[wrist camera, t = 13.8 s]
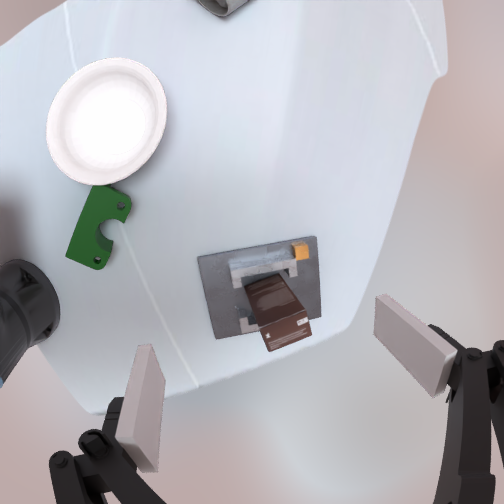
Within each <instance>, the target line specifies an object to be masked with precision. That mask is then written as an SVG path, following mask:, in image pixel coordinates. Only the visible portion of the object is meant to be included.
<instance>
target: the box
mask: <svg viewBox="0 0 504 504" xmlns="http://www.w3.org/2000/svg"><path fill="white" fill-rule="evenodd" d="M244 289H245V292H246V294H247V297H248V300H249V303H250V306H251V308H252V311H253V313H254V316H255V319H256V322H257V324H258V327H259V330H260V332H261V335H262V338H263V340H264V342H265V344H266V347H267V350H268V351H269V352H271V351H274V350H276V349H279V348H282V347H284V346H287V345H289V344H292V343H294V342H296V341H299V340H301V339H304V338H306V337H309V336H311V335H312V332H311V328H310V324H309V320H308V315H307V311H306V309H305V308H304V306H303V305H302V304H301V302H300V301H299V300H298V298H297V297H296V296H295V294H294V293H293V291H292V290H291V289H290V287H289V286H288V285H287V283H286V282H285V280H284V279H283V278H282V276H281V275H280V274H279V273H278V274H276V275H273V276H270V277H268V278H265V279H262V280H260V281H257V282H254V283H252V284H249V285H246V286H244Z"/></svg>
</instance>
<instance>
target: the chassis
mask: <svg viewBox="0 0 504 504" xmlns="http://www.w3.org/2000/svg"><path fill="white" fill-rule="evenodd" d="M198 262H199V267H200V272H201V277H202V281H203V286H204V290H205V295H206V299H207V304H208V308H209V313H210V317H211V321H212V325H213V330H214V334H215V338H216V339H221V338H227V337H232V336H237V335H243V334H248V333H253V332H257V331H260V330H259V327H258V324H257V322H256V319H255V316H254V313H253V311H252V308H251V306H250V303H249V300H248V297H247V294H246V292H245V289H244V286H246V285H249V284H252V283H254V282H257V281H260V280H262V279H265V278H268V277H270V276H273V275H276V274H278V273H279V274H280V275H281V276H282V278H283V279H284V280H285V282H286V283H287V285H288V286H289V287H290V289H291V290H292V291H293V293H294V294H295V296H296V297H297V298H298V300H299V301H300V302H301V304H302V305H303V306H304V308H305V309H306V311H307V315H308V320H311V319H315V318H319V317H321V297H320V278H319V262H318V248H317V237H315V236H310V237H305V238H299V239H294V240H288V241H283V242H277V243H271V244H266V245H260V246H255V247H249V248H244V249H238V250H233V251H227V252H222V253H216V254H211V255H205V256H200V257H198Z"/></svg>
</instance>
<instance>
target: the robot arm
mask: <svg viewBox="0 0 504 504" xmlns="http://www.w3.org/2000/svg"><path fill="white" fill-rule="evenodd" d="M59 318H60V307H59V301H58V298H57V295H56V292H55V290H54V288H53V286H52V284H51V283H50V281H49V280H48V278H47V277H46V276H45V275H44V273H43V272H42V271H41V270H39V269H38V268H37V267H36V266H34V265H33V264H31V263H29V262H27V261H24V260H12V261H10V262H8V263H6V264H5V265H3V266H1V267H0V388H1V387H2V386H3V384H4V382H5V381H6V379H7V378H8V376H9V375H10V373H11V372H12V370H13V368H14V367H15V366H16V364H17V363H18V361H19V360H20V358H21V357H22V356H23V354H24V353H25V351H26V350H27V349H28V348H29V347H32V346H34V345H36V344H38V343H40V342H42V341H44V340H46V339H47V338H48V337H50V335H51V334H52V333H53V332H54V330H55V329H56V327H57V325H58V323H59ZM374 336H376V338H377V339H378V340H379V341H380V342H381V343H382V344H383V345H384V346H385V347H386V348H387V349H388V350H389V351H390V352H391V354H393V356H394V357H395V358H396V359H397V360H398V361H399V362H400V363H401V364H402V365H403V366H404V367H405V368H406V370H407V371H408V372H409V373H410V374H411V375H412V376H413V377H414V378H415V379H416V380H417V381H418V383H419V384H420V385H421V386H422V387H423V388H424V389H425V390H426V391H427V392H428V393H429V394H430V396H431V397H432V398H435V397H436V396H438V395H440V394H442V393H444V391H445V388H446V385H447V384H448V385H449V386H450V387H451V389H450V392H449V394H448V397H447V399H446V403H447V402H448V400H449V408H448V420H447V431H446V440H445V447H444V453H443V460H442V466H441V471H440V476H439V481H438V486H437V491H436V495H435V499H434V502H433V504H493V501H494V492H495V475H492V474H491V473H490V463H491V420H492V423H493V426H494V430H495V434H496V437H497V441H498V445H499V449H500V453H501V457H502V462H503V467H504V340H500V341H497V342H495V344H494V346H493V350H490V351H486V352H482V351H481V350H479V349H477V348H467V349H466V348H464V347H463V346H462V345H461V344H459V343H458V342H457V341H456V340H455V339H453V338H452V337H450V336H449V335H448V334H447V333H445V332H444V331H443V330H442V329H440V328H439V327H436V326H434V325H432V324H430V325H428V326H427V325H426V324H425V323H423V322H422V321H421V320H420V319H418V318H417V317H416V316H414V315H413V314H412V313H411V312H409V311H408V310H407V309H405V308H404V307H403V306H401V305H400V304H399V303H398V302H396V301H395V300H394V299H392V298H391V297H390V296H388V295H387V294H383V295H380V296H377V297H376V305H375V321H374ZM165 382H166V381H165V378H164V376H163V373H162V371H161V368H160V366H159V363H158V361H157V358H156V355H155V353H154V350H153V347H152V345H151V344H147V345H139V346H138V349H137V353H136V356H135V360H134V363H133V367H132V370H131V374H130V378H129V381H128V385H127V389H126V393H125V397H115V398H114V399H113V400H112V401H111V403H110V404H109V406H108V409H107V414H106V416H105V420H104V424H103V427H102V431H101V430H98V429H91V430H88V431H86V432H84V433H83V434H82V435H81V437H80V438H79V441H78V445H79V448H80V449H81V450H82V451H83V453H84V454H83V455H78V456H74V457H73V456H72V455H71V454H70V453H69V452H67V451H58V452H56V453H54V454H53V455H52V456H51V458H50V460H49V468H50V474H51V480H52V485H53V489H54V494H55V499H56V503H57V504H108V503H107V500H106V498H105V495H104V493H106V492H110V491H112V492H113V493H114V495H115V496H116V497H117V498H118V500H119V501H120V502H121V504H166V503H165V502H164V501H163V500H162V499H161V498H160V497H159V496H158V495H157V494H156V493H155V492H154V491H153V490H152V489H151V488H150V487H149V486H148V485H147V484H146V483H145V482H144V480H143V479H142V478H141V477H140V476H139V475H138V474H137V473H136V470H137V467H138V468H139V470H140V471H141V472H143V473H145V472H158V460H159V445H160V432H161V421H162V409H163V400H164V390H165Z"/></svg>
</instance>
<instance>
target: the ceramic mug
mask: <svg viewBox="0 0 504 504" xmlns="http://www.w3.org/2000/svg"><path fill="white" fill-rule="evenodd" d="M198 1H199V2H200V4H201V5H202V6H204V7H205V8H206V9H207V10H208V11H210V12H211V13H213V14H215V15H218V16H227V15H229V14H230V13H231V12H233V11H234V10H236V9H237V8H238V7H240V6H241V5H243V4H244V3H245V2H247V1H248V0H198Z"/></svg>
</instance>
